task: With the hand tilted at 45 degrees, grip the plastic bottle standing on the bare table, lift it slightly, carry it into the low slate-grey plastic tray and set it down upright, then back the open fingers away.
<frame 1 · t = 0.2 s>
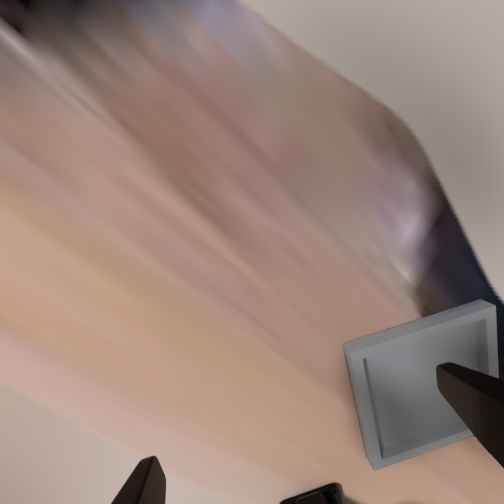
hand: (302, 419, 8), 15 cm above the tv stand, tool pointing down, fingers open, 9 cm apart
grey tray: (420, 381, 27), on the tv stand
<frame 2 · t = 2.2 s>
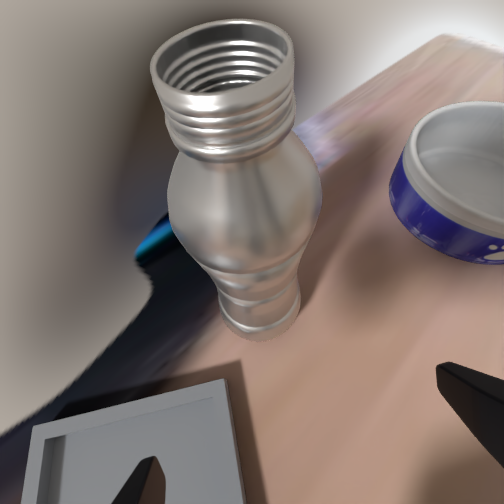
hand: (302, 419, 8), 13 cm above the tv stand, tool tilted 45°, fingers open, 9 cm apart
dog bowl: (463, 202, 28), on the tv stand
plastic bottle: (261, 308, 24), on the tv stand
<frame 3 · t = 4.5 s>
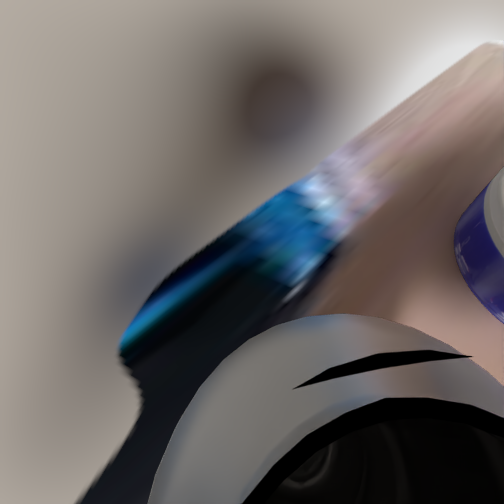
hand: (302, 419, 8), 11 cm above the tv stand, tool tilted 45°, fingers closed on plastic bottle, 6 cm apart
plastic bottle: (297, 439, 17), on the tv stand, touching gripper
when the fingers open (12 cm above the tv stand, at t = 7.8 s): plastic bottle drops 1 cm, resting on grey tray.
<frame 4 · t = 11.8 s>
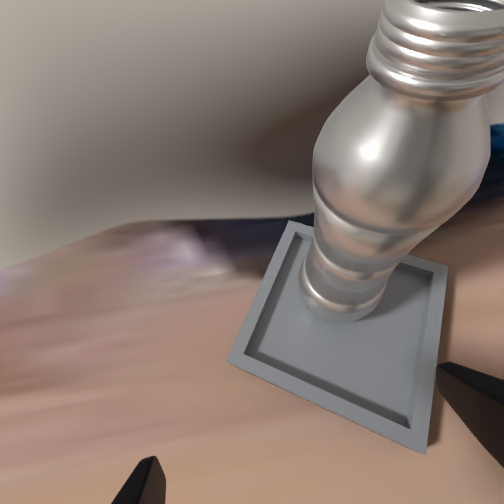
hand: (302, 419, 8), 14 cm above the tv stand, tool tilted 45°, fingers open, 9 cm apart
plastic bottle: (334, 292, 24), resting on grey tray
grey tray: (338, 316, 23), on the tv stand
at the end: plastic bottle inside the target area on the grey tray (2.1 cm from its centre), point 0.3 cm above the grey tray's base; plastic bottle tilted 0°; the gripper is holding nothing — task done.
